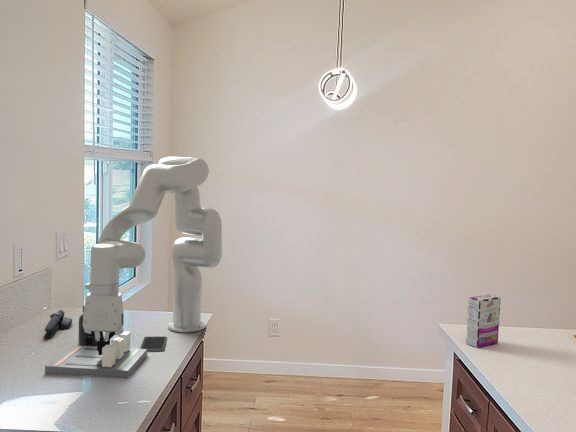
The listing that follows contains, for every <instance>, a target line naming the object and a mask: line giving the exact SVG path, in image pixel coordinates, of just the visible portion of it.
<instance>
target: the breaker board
mask: <svg viewBox="0 0 576 432" xmlns="http://www.w3.org/2000/svg"><path fill="white" fill-rule="evenodd" d="M147 357H148V352H147V349H140V348H134V347H133V348H131V347H130V349H129V350H128V351H127V352H124V356H123V357H122V358H121V359H115V364H114V365H113V366H112V367H102V355H99V351H97V346H80V345H79V344H78V345H75V344H73V345H72V346H70V347H69V348H67V349H65V351H64V352H62V353H61V354H59V355H58V356H57V357H56V358H54V359H53V360H51V361H49V362H48V363H47V364H46V365H44V374H46V375H47V374H49V375H65V376H66V375H67V376H82V377H85V376H86V377H99V378H100V377H101V378H103V377H104V378H117V379H118V378H119V379H128V378H130V376H131V375H132V374H133V372H134V371H136V369H137V368H138V367H139V366H140V365H141V363H142V362H144V360H145V359H146V358H147Z"/></svg>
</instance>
